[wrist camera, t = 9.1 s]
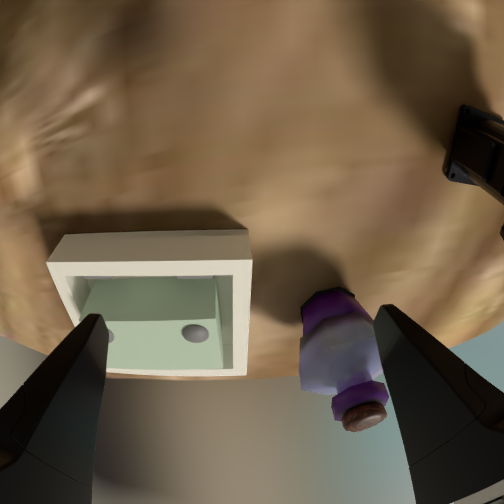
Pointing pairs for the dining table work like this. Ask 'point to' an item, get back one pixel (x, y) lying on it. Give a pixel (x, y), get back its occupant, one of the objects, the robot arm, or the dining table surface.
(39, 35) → the dining table surface
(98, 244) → the cabinet carcass
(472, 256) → the dining table surface
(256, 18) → the dining table surface
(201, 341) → the green box with knobs
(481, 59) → the dining table surface
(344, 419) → the potion bottle
